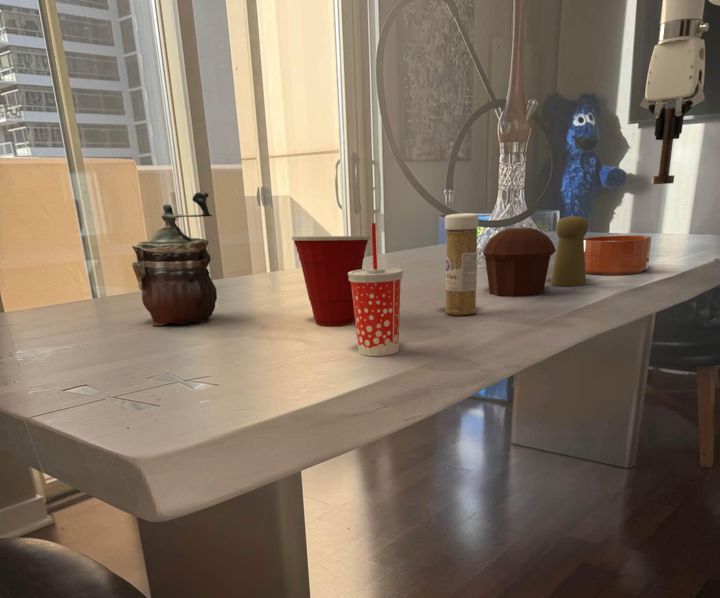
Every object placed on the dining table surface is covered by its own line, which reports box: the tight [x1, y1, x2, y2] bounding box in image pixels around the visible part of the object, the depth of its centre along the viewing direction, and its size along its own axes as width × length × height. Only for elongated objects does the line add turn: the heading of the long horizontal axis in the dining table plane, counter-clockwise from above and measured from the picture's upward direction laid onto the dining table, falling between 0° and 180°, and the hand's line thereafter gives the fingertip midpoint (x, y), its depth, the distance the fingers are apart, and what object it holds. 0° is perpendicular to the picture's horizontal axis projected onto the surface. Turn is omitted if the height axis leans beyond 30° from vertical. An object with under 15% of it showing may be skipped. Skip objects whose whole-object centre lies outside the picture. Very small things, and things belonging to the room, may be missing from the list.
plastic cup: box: [291, 235, 371, 327], centre depth 96 cm, size 11×11×12 cm
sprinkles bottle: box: [444, 212, 479, 317], centre depth 97 cm, size 5×5×13 cm
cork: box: [549, 215, 589, 287], centre depth 119 cm, size 6×6×11 cm
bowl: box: [584, 235, 652, 276], centre depth 132 cm, size 12×12×6 cm
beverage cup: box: [348, 222, 404, 357], centre depth 77 cm, size 6×6×14 cm
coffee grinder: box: [131, 191, 218, 327], centre depth 101 cm, size 13×15×18 cm
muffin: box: [482, 227, 557, 297], centre depth 113 cm, size 12×11×10 cm
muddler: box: [650, 107, 676, 185], centre depth 143 cm, size 4×4×14 cm
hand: (667, 138), depth 142 cm, fingers closed on muddler, 2 cm apart
